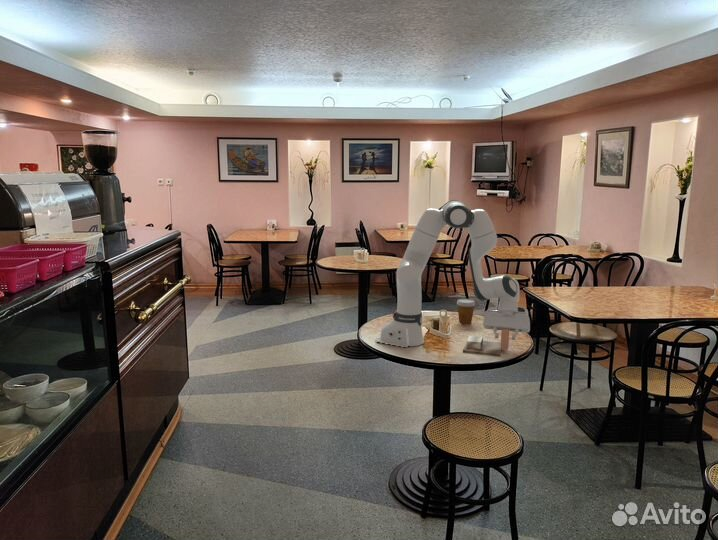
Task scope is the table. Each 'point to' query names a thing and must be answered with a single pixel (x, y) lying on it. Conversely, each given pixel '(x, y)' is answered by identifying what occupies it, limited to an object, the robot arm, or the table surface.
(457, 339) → the table surface
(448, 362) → the table surface
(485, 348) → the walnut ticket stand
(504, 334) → the terracotta tab
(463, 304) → the disposable coffee cup
